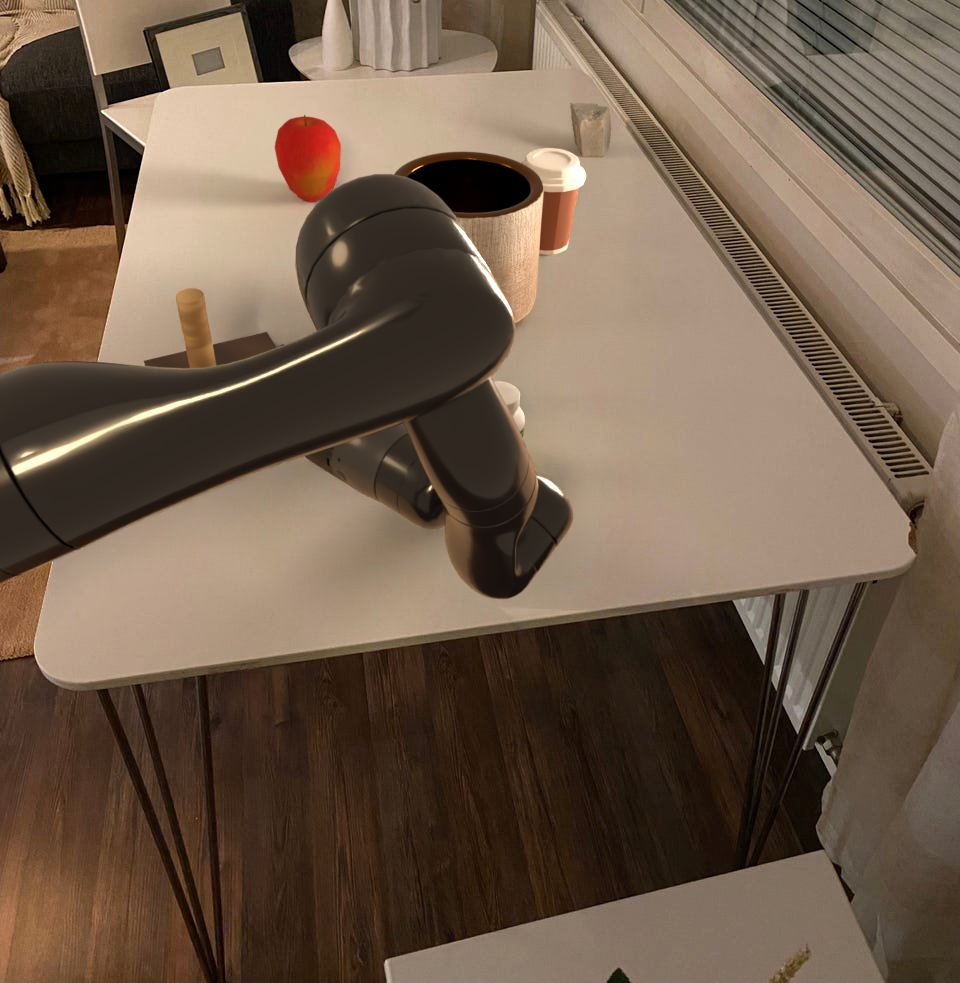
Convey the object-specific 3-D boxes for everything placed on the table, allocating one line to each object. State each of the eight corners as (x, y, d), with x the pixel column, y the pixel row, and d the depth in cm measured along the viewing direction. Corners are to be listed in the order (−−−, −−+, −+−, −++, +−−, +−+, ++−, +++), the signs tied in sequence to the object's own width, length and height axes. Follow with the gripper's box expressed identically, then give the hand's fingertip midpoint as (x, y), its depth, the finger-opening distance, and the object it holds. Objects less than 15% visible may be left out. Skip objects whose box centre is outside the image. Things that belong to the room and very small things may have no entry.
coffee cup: (588, 238, 134) (598, 153, 126) (561, 266, 128) (570, 179, 120) (528, 222, 137) (535, 138, 129) (500, 248, 131) (505, 163, 123)
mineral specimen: (554, 140, 157) (569, 90, 152) (604, 151, 159) (620, 102, 154) (562, 157, 152) (578, 106, 147) (613, 168, 154) (631, 118, 149)
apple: (356, 197, 141) (352, 115, 133) (308, 217, 136) (300, 132, 128) (315, 177, 145) (309, 96, 137) (267, 195, 140) (257, 112, 132)
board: (180, 447, 98) (177, 433, 97) (146, 373, 107) (143, 360, 106) (311, 411, 103) (309, 397, 102) (268, 344, 112) (266, 331, 111)
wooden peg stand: (188, 422, 98) (165, 311, 89) (184, 394, 101) (161, 285, 93) (236, 414, 99) (218, 304, 91) (230, 387, 103) (212, 279, 94)
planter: (436, 356, 112) (437, 231, 101) (368, 285, 123) (363, 166, 112) (562, 318, 119) (576, 197, 108) (488, 254, 130) (493, 139, 119)
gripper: (420, 375, 86) (297, 309, 94) (300, 451, 78) (176, 371, 85) (420, 440, 91) (304, 372, 99) (308, 518, 83) (190, 437, 90)
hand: (244, 372), depth 92 cm, fingers open, 8 cm apart
